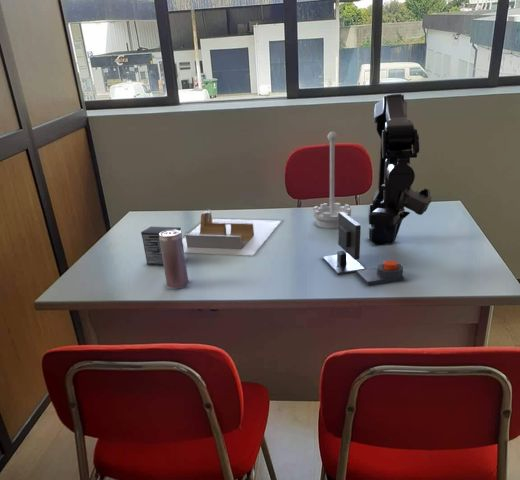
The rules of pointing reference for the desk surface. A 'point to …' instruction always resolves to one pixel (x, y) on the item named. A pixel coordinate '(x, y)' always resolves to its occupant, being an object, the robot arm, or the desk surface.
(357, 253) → the screen
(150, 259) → the small box
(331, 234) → the desk surface
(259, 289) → the desk surface
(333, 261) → the monitor stand
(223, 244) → the walled white board
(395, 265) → the power button
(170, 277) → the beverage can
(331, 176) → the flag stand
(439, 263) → the desk surface
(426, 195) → the robot arm
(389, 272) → the console
